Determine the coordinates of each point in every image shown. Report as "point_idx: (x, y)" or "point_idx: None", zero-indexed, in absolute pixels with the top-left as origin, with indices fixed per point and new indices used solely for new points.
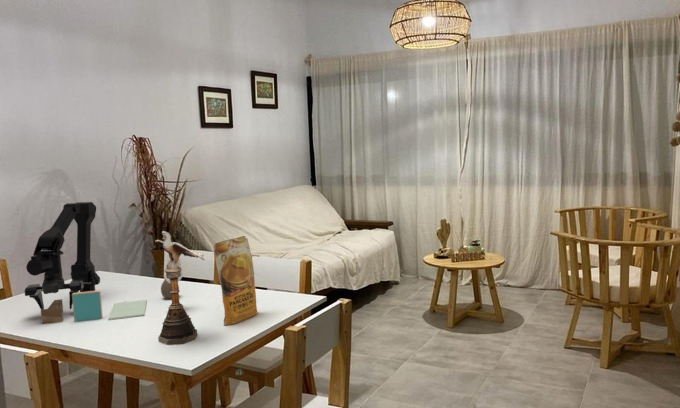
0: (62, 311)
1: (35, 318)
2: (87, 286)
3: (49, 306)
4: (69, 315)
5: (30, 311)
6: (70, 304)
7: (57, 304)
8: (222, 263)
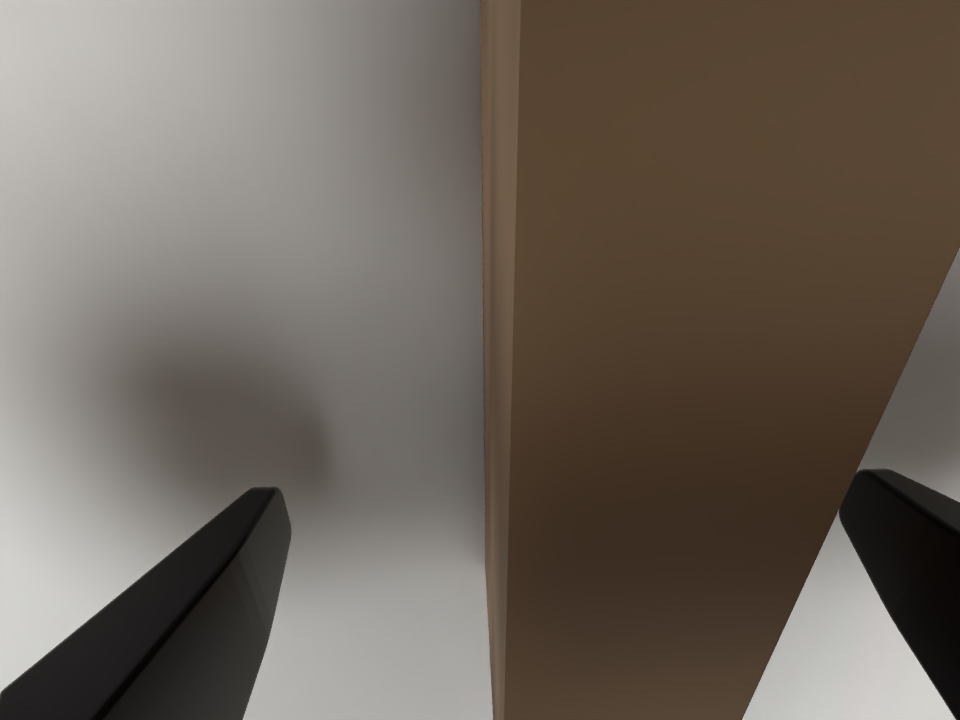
0: (486, 545)
1: (932, 387)
2: None
3: (954, 249)
4: (305, 343)
5: (910, 693)
6: (181, 571)
7: (544, 473)
8: None
